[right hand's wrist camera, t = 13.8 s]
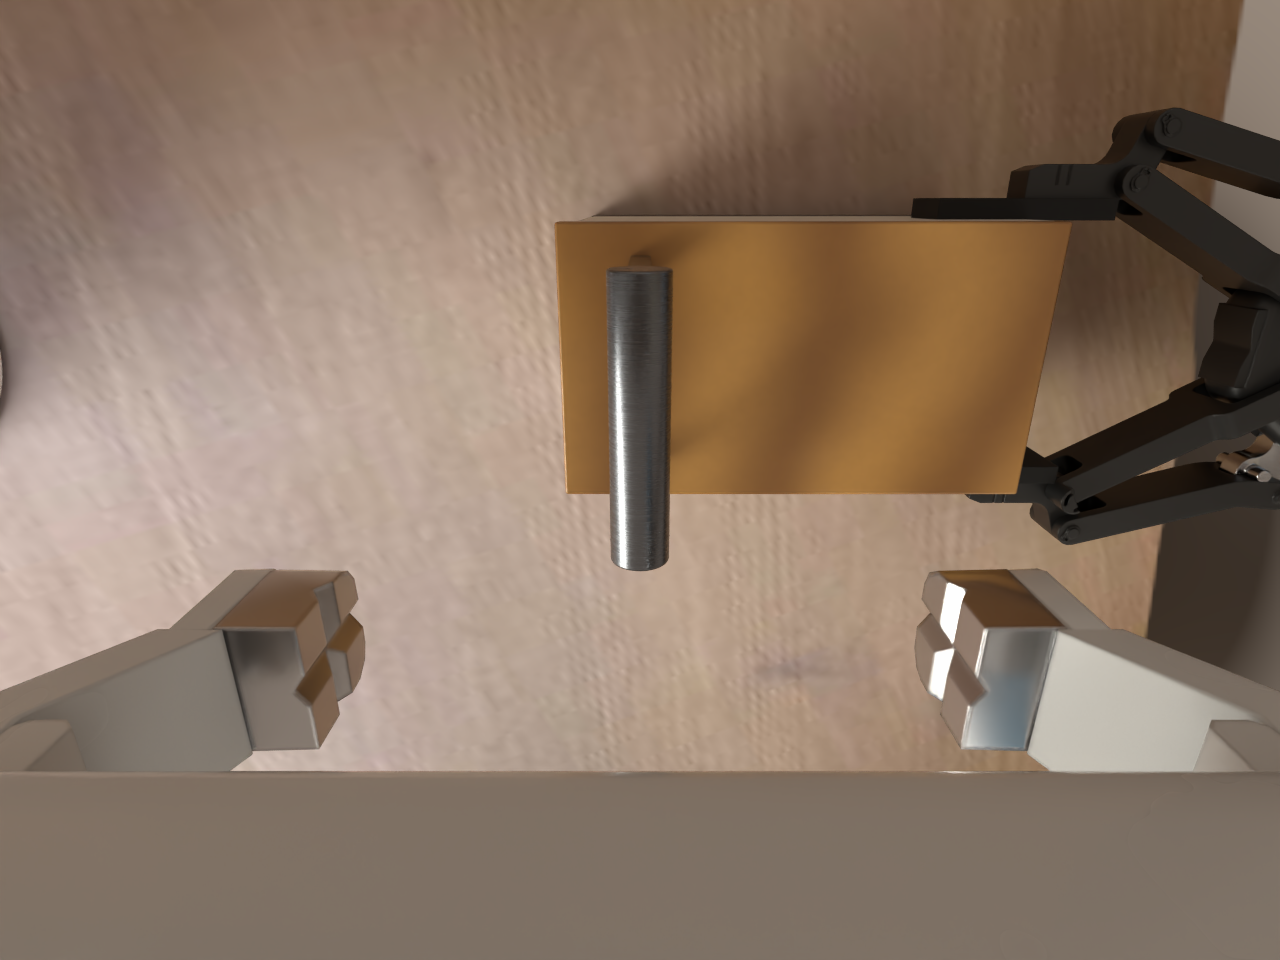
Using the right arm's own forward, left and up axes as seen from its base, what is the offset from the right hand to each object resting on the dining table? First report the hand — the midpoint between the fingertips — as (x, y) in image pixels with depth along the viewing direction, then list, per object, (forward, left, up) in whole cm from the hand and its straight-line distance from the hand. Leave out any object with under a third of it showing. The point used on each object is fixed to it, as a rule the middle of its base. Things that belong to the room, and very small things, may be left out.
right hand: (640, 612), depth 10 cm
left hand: (+6, +9, -20) cm, 23 cm away
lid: (+3, +5, -17) cm, 18 cm away
